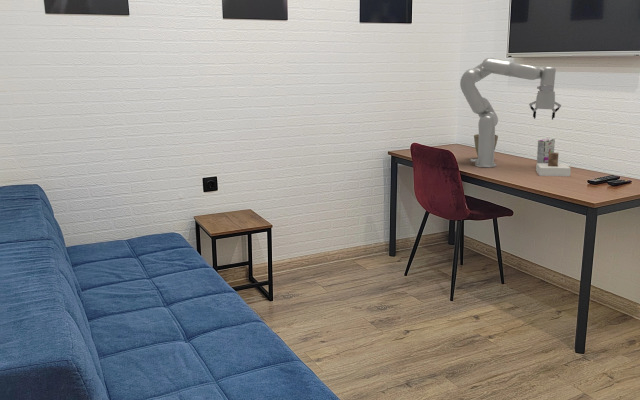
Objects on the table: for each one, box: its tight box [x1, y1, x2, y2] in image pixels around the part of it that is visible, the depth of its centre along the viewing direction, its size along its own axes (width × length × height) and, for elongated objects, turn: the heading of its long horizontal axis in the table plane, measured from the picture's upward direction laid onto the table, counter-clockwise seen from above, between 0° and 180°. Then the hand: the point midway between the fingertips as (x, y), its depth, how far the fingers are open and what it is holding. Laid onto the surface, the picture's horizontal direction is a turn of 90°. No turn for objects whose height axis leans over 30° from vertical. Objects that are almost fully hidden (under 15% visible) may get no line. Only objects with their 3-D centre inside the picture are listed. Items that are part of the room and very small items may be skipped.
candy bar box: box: [536, 138, 556, 164], centre depth 349 cm, size 11×5×16 cm, turn 129°
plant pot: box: [473, 133, 499, 157], centre depth 375 cm, size 15×15×16 cm
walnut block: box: [548, 152, 559, 167], centre depth 330 cm, size 5×5×7 cm
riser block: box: [535, 162, 572, 177], centre depth 331 cm, size 16×14×5 cm
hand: (543, 118), depth 337 cm, fingers open, 9 cm apart
